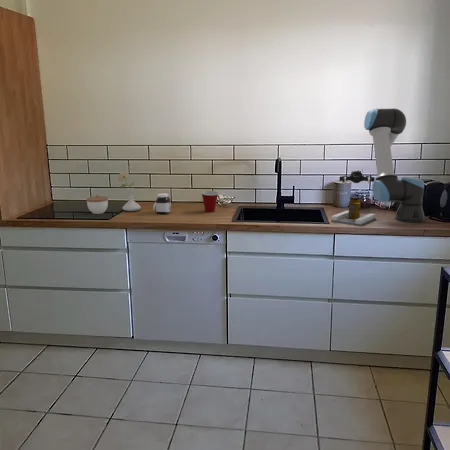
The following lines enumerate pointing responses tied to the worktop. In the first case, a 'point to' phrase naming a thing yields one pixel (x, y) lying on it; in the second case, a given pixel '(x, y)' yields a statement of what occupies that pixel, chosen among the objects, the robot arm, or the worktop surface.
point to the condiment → (354, 208)
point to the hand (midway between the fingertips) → (357, 180)
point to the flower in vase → (131, 204)
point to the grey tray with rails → (359, 221)
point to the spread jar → (162, 204)
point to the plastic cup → (209, 200)
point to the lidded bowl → (97, 204)
